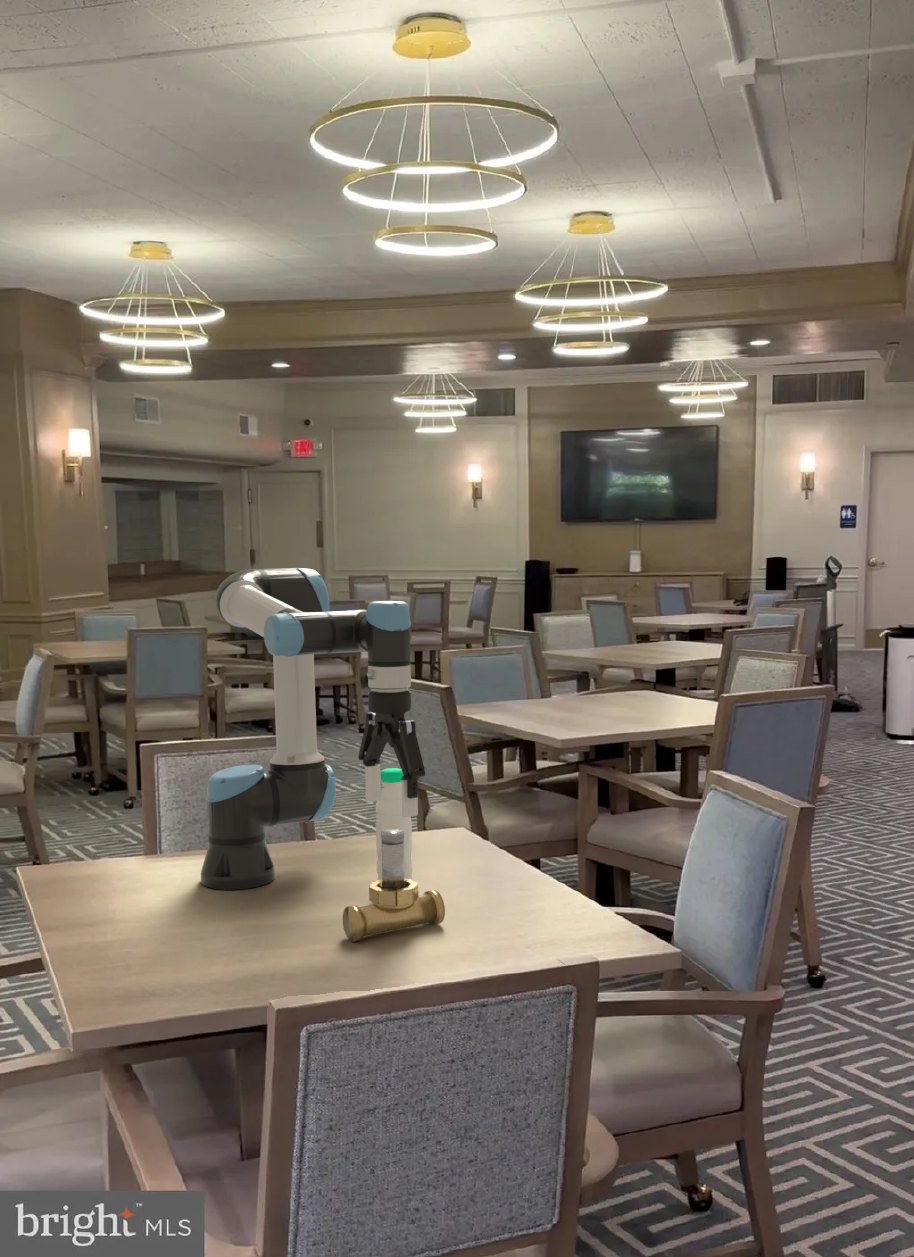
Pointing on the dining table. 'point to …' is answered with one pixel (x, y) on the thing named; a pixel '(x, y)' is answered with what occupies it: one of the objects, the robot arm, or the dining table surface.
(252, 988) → the dining table surface
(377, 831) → the water bottle
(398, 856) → the metal cylinder
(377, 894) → the tee fitting
